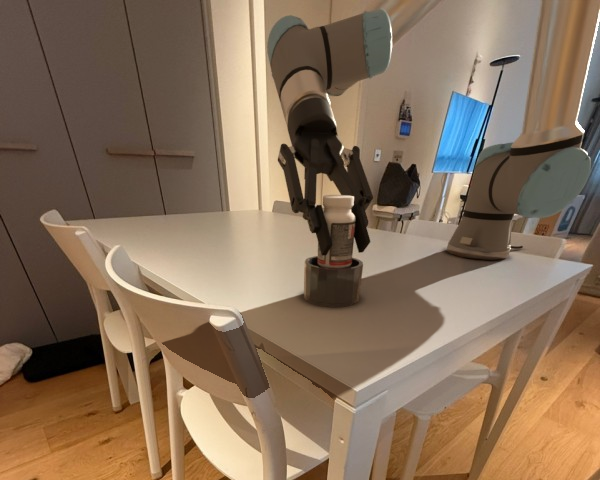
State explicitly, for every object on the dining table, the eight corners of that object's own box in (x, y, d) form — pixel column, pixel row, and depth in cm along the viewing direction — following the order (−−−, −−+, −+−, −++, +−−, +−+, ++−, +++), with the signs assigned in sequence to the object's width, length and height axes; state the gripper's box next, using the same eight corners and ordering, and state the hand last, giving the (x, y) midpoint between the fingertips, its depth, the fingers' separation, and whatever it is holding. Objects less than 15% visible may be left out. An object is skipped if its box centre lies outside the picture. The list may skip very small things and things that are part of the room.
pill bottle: (355, 263, 57) (362, 195, 51) (345, 271, 53) (351, 198, 47) (324, 259, 59) (327, 193, 53) (311, 267, 55) (313, 196, 49)
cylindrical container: (349, 288, 64) (352, 254, 60) (366, 305, 56) (371, 268, 52) (299, 290, 62) (300, 255, 59) (310, 308, 54) (311, 270, 51)
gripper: (351, 141, 60) (386, 258, 57) (249, 138, 55) (282, 267, 52) (370, 98, 53) (411, 229, 50) (255, 89, 48) (294, 236, 45)
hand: (346, 248), depth 51 cm, fingers closed on pill bottle, 6 cm apart
